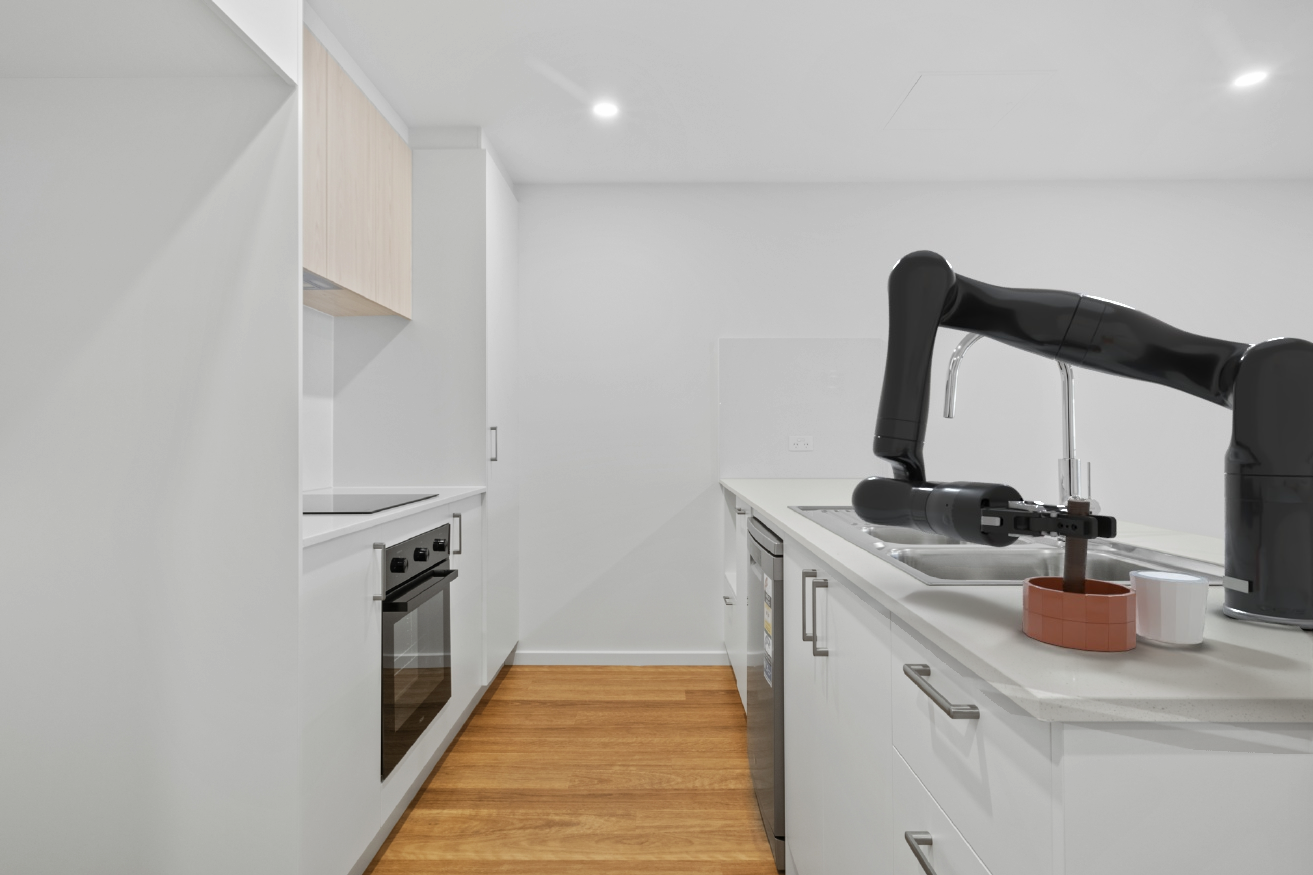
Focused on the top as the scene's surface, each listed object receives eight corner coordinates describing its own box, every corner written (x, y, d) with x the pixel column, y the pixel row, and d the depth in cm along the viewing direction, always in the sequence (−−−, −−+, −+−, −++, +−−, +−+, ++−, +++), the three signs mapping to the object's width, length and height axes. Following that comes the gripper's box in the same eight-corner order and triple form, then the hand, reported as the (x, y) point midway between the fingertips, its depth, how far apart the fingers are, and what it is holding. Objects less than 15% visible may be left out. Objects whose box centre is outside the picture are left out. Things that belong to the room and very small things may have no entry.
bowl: (1029, 625, 79) (1029, 572, 79) (1136, 639, 74) (1136, 583, 74) (1017, 645, 71) (1017, 587, 71) (1135, 664, 65) (1135, 600, 65)
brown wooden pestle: (1056, 628, 75) (1064, 497, 74) (1091, 635, 73) (1099, 501, 72) (1050, 635, 72) (1058, 500, 72) (1086, 642, 70) (1094, 503, 70)
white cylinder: (1199, 637, 75) (1198, 572, 75) (1219, 654, 68) (1219, 583, 69) (1123, 629, 78) (1123, 567, 78) (1136, 645, 71) (1135, 577, 71)
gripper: (928, 482, 83) (1052, 491, 67) (1017, 481, 88) (1154, 489, 71) (928, 544, 83) (1052, 569, 67) (1017, 540, 88) (1154, 562, 71)
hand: (1104, 528), depth 69 cm, fingers closed on brown wooden pestle, 2 cm apart
